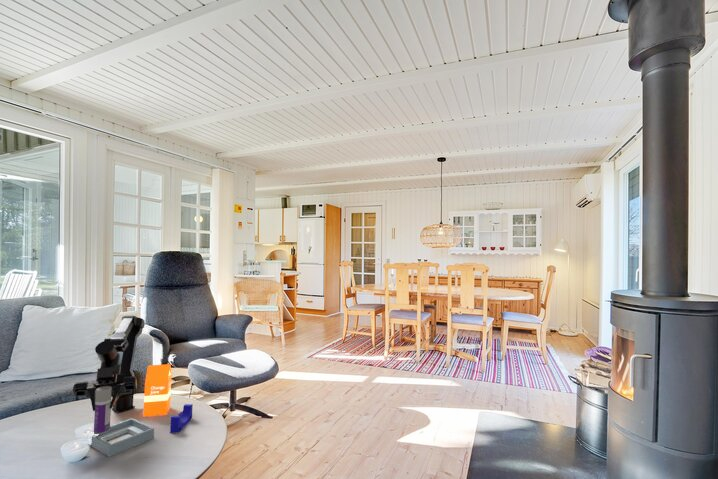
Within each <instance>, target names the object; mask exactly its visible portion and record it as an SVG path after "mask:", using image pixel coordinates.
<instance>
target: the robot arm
mask: <svg viewBox="0 0 718 479" xmlns="http://www.w3.org/2000/svg"><path fill="white" fill-rule="evenodd" d="M145 326H146V323H145V320H144V319H143V318H142V317H137V316H136V315H123V316H122V318H121V321H120V323H119V325H118V326H117V328H116V330H115V331H114V333H111V334H109V335H108V336H107V337H106V338H104V340H103V341H101V342H99V343H98V344H97V345H96V346H95V348H94V350H95V353H96V355H97V357H98V359H99V361H100V368H97V372H96V382H97V383H89V381H87V380H86V381H77V382H75V383H74V385H73V388H72V392H73V396H75V397H82V396H83V397H84V396H85V397H86V398H89V399H90V402H91V403H90V404H91V409H92V412H95V400H96V389H97V388H99V387H103V386H111V387H112V391H111V406H110V409H111V411H112V410H113V411H115V412H116V413H123V412H126V411H130V410H132V409H135V407H136V406H135V405H134V395H137V394H138V384H137V383H138V382H137V377H136V376H135V375H134V373H133V365H134V361H135V354H136V348H137V347H136V346H137V341H138V338H139V337H140V336H141V334H142V333H143V329H145ZM119 353H122V357H121V355H120V354H119ZM120 359H121V363H120Z"/></svg>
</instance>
